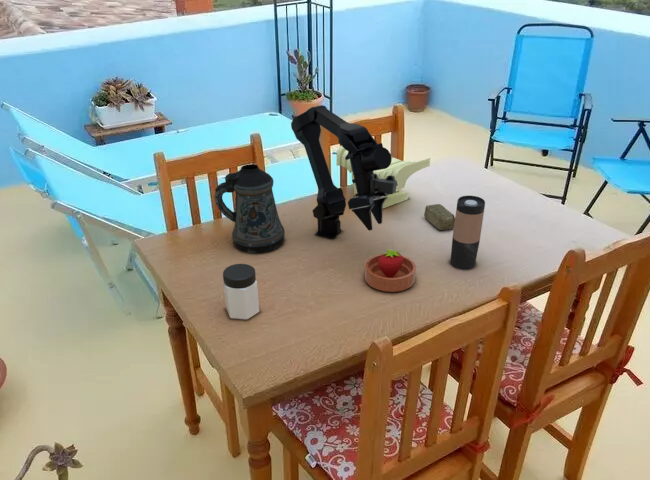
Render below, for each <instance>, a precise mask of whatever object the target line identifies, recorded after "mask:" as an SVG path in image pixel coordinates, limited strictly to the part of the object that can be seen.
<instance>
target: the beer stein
mask: <svg viewBox="0 0 650 480" xmlns="http://www.w3.org/2000/svg"><path fill="white" fill-rule="evenodd" d="M273 187H274V178H273V177H272V175H270V173H268V172H266V171H265V170H262V169H261V168H260V167H259V166H258V165H257V164H253V163H252V164H251V163H249V164H244V165H242V166H241V167H240V169H239V170H237V171H236V172H232V173H231V172H230V173H227V174H226V175H225V177H224V182H221V183H219V184H218V185H217V186H216V188H215V190H214V191H215V193H214V202H215V205H216V207H217V208H218V210H219V211H220V213H221V214H222V215H223V216H224V217H225V218H227V219H228V220H230V221H231V222H233V223H234V226H233V229H232V231H231V237H232V238H231V239H232V241H233V242H234V246H235V248H236V249H238V250H239V251H240V252H243V253H246V254H264V253H269V252H273V251H275V250H277V249H279V248H280V247H281V246H282V245H283V242H284V239H285V238H284V237H285V233H286V232H285V228H284V226H283V224H282V222H281V219H280V216H279V213H278V209H277V205H276V199H275V196H274V191H273ZM234 192H235V211H232V210H231V209H230V208H229V207H228V206H227V205H226V203H225V202H224V199H223V195H225V194H226V193H231V194H232V193H234Z"/></svg>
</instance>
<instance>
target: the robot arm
mask: <svg viewBox="0 0 650 480" xmlns="http://www.w3.org/2000/svg"><path fill="white" fill-rule="evenodd" d="M290 127H291V130H292V131H293V134H294V137H295V138H296V140H297V141H298V142H299V143H301V144H302V145H303V147H304V148H305V153H306V156H307V158H308V162H309V166H310V168H311V171H312V175H313V177H314V180H315V182H316V183H315V184H316V186H317V190H318V192H317V195H316V204H317V205H316V206H315V207H314V208H313V209H312V215H313V217H314V218H315V219H316V220H317V231H316V232H315V236H318V237H322V238H328V239H333V240H334V239H335V238H336V237H337V236H338V235H339V234H340V233H341V232H342V227H341V226H342V225H341V220H340V217H341V216H344V213H345V211H346V208H347V207H346V206H348V210H351V212H353V213H354V214H355V216H356V217H357V218H358V220H360V222H361V223H362V224H363V226H364V227H365V228H366V229H367V231H369V232H370V231H373V219H372V216H373V218H374V220H375V221H376V223H377V224H378V225H381V224H383V209H384V208H383V203H384V202H385V200H386V199H387V197H385V196H388V195H389V194H393V193H395V192H396V186H397V185H398V184H397V180H395V177H394V176H390V175H389V176H387V178H386V179H378V175H377V174H376V173H375V174H374V172H373V171H376V170H381V169H386V168H388V167H389V166H390V164H391V160H392V158H393V156H392V154H391V153H390V151H389V149H387V147H384V145H383V143H382V142H380V143H378V142H377V140H376V139H374V137H373V136H372V134H371V133H370V132H369V130H368V128H367V127H365V126H364V125H361V124H358V123H350V122H348V121H346V120H345V119H343V118H342V117H340V116H339V115H337V114H336V113H334V112H332V111H331V110H329V108H327V106H326V105H323V104H320V105H316V106H311V107H310V108H308V109H307V110H305V111H304V112H302V113H300V114H299V115H296V116H294V117H293V118H292V121H291V123H290ZM322 128H324V129H325V130H327V131H328V132H330V133H331V134H332V135H334V136H335V137H336V138H337V141H338V144H339V146H342V147H343V148H344V149H345V150H347V151H348V154H347V155H346V157H345V159H346V160H348V159H350V163H351V168H352V172H353V176H354V179H353V180H352V179H351V182H352V184H353V183H355V185H356V189H357V194H355V195H354V196H353V197H351V198H349V199H348V201H347V198H346V197H345V195H344V191H343V189H342V188H341V187H337V186H336V185H335V184H334V181H333V179H332V175H331V172H330V169H329V167H328V162H327V160H326V157H325V155H324V150H323V148H322V144H321V142H320V141H321V140H320V137H321V133H322ZM391 156H392V157H391ZM355 196H356V197H355ZM383 196H384V198H383Z"/></svg>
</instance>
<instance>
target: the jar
mask: <svg viewBox="0 0 650 480" xmlns="http://www.w3.org/2000/svg"><path fill="white" fill-rule="evenodd" d="M256 275H257V274H256V270H255V268H254V266H252V265H250V264H247V263H235V264H231V265H229V266H227V267H225V268H224V270H223V272H222V283H223V290H224V291H223V292H224V301H225V309H226V311H227V314H228V316H229V318H230V319H234V320H235V319H236V320H244V321H245V320H249V319H250V318H252V317H253V316H255V315H257V314H258V313H260V301H259V300H260V299H259V290H258V287H259V286H258V281H257V277H256Z"/></svg>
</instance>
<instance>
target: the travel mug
mask: <svg viewBox="0 0 650 480" xmlns="http://www.w3.org/2000/svg"><path fill="white" fill-rule="evenodd" d="M456 201H457V202H456V208H455V209H456V210H455V215H454V217H455V223H454V228H453V232H452V238H451V239H452V240H451V249H450V251H451V252H450V264H451V266H452V267H454V268H456V269H460V270H471V269H473V268H474V267H475V266H476V262H477V256H478V251H479V246H480V241H481V237H482V228H483V221H484V215H485V207H486V201H485V199H484V198H482V197H479V196H476V195H462V196H460V197H458V198H457V200H456Z"/></svg>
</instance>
